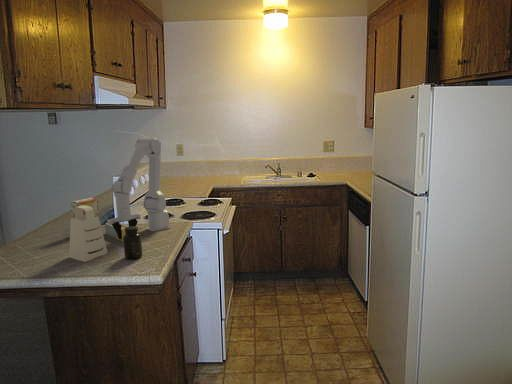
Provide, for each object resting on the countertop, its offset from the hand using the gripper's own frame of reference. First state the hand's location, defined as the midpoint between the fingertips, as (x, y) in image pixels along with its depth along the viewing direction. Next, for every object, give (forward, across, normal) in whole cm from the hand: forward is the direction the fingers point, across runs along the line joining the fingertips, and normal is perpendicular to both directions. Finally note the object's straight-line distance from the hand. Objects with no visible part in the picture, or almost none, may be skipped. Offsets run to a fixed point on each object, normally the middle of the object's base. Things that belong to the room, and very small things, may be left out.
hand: (126, 237), depth 192 cm
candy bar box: (+2, +8, -24) cm, 26 cm away
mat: (+1, 0, -4) cm, 4 cm away
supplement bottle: (+2, +8, +24) cm, 25 cm away
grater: (+2, +20, +9) cm, 22 cm away
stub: (+1, 0, -1) cm, 1 cm away
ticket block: (+1, 0, -10) cm, 10 cm away
